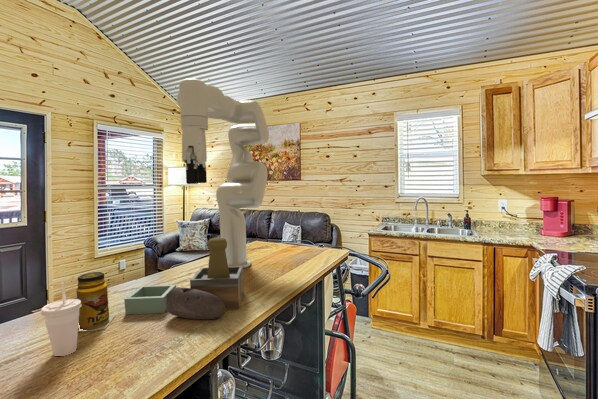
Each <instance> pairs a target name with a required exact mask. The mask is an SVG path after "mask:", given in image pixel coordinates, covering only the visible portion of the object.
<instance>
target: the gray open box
mask: <svg viewBox="0 0 598 399" xmlns="http://www.w3.org/2000/svg"><path fill="white" fill-rule="evenodd" d="M228 269H229V274H230V278H209V279H207V276H208V267H200V268H199V269H198V271H196V273H194V275H193V276H192V277H191V278H190V280H189V286H190V287H189V288H191V289H197V290H201V291H205V292H208V293H211V294H213V295H215V296H217V297H219V298H220V299H221V300H222V301H223V303H224V305H225V309H226V310H225V311H227V310H228V311H229V310H240V306H241V303H242V301H243V300H242V299H243V298H244V292H245V288H244V286H245V285H244V268H243V266H234V267H228Z"/></svg>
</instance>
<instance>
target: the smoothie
mask: <svg viewBox="0 0 598 399" xmlns="http://www.w3.org/2000/svg"><path fill="white" fill-rule="evenodd" d="M60 283H61V284H60V285H61V297H62V298H61V299H59V300H57V301H53V302H50V303H48V304H46V305H44V306H43V307H41V309H40V312H41V313H40V315H41V316H42V317H43V319H44V324H45V326H46V330H47V334H48V338H49V342H50V347H51V350H52V354H54V355H55V356H64V357H66V356H65V355H67V356H69V355H68V354H70V355H72V354H74V353H75V352H76V351H77V350H78V349H77V348H78V337H79V335H78V333H79V332H78V323H79V308H80V307H81V300H79V299H77V298H67V295H66V284H65V283H66V282H65V281H61V282H60ZM66 298H67V299H66ZM76 349H77V350H76ZM73 352H74V353H73ZM71 353H72V354H71ZM54 355H53V356H54Z"/></svg>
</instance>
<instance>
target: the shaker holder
mask: <svg viewBox="0 0 598 399" xmlns="http://www.w3.org/2000/svg"><path fill="white" fill-rule="evenodd" d="M174 288H177V284H155V285H140V286H139V287H138V288H136V289H135V290H134V291H133V292H131V293H130V294H129V295H128V296H126V297H125V298H124V315H145V314H147V315H148V314H164V313H166V311H167V308H166V295H167V293H168V292H169V291H170V290H171V289H174Z"/></svg>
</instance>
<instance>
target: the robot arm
mask: <svg viewBox="0 0 598 399" xmlns="http://www.w3.org/2000/svg"><path fill="white" fill-rule="evenodd" d="M178 85H179V86H178V93H177V95H176V96H177V97H176V101H177V105H178V106H179V112H180V113H179V114H180V130H182V132H181V134H182V135H181V162H183V163H184V164H185V180H186V184H187V185H194V184H195V185H198V184H206V183H207V181H208V179H207V165H206V163H207V161H208V160H207V159H208V158H207V157H208V156H207V155H208V152H207V151H208V150H207V139H206V132H207V131H208V130H209V120H208V119H213V120H222V121H226V122H227V123H230V124H231V123H232V124H235V125H233V126H231V127H230V128H229V129H228V131H227V132H228V133H227V135H228V143H229V146H230V150H231V154H232V157H231V160H230V164H229V167H228V169H227V173H226V179H227V182H226V183H222V184H221V185H219V186H218V187H217V189H216V191H215V197H216V203H217V207H218V210H219V212H218V213H219V227H220V228H219V230H220V233H219V234H220V237H221V238H225V239H226V241H227V248H226V249H225V251H226V257H227V263H228V267H234V266H243V269H245V268H247V267H249V266H251V265H252V260H251V259H248V258H247V257H248V255H247V254H248V252H247V230H246V229H247V227H246V225H247V224H246V217H245V215H244V214H243V212H242V211H241V209H257V208H259V207H260V206H261V205H262V204H263V200H264V195H265V193H266V192H265V191H266V187H267V182H268V169H267V166H266V165H265V164H264V163H263V162H261V161H254V156H253V154H252V153H251V151H250V150H249V149H248V148H247V147H246V146H253V145H254V146H255V145H265V144H266V143H268V141H269V138H270V132H269V128H268V125H267V121H266V117H265V114H264V111H263V109H262V107H261V105H260V103H259V102H258V101H257V100H240V101H239V100H236V99H234V98H233V97H230V96H229V95H225V94H224V92H223V91H222V90H221V89H220V88H219V87H217V86H215V85H210V84H207V83H205V82H204V81H203V80H201V79H198V78H184V79H182V80H181V81H179V83H178ZM236 124H237V125H236Z"/></svg>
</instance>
